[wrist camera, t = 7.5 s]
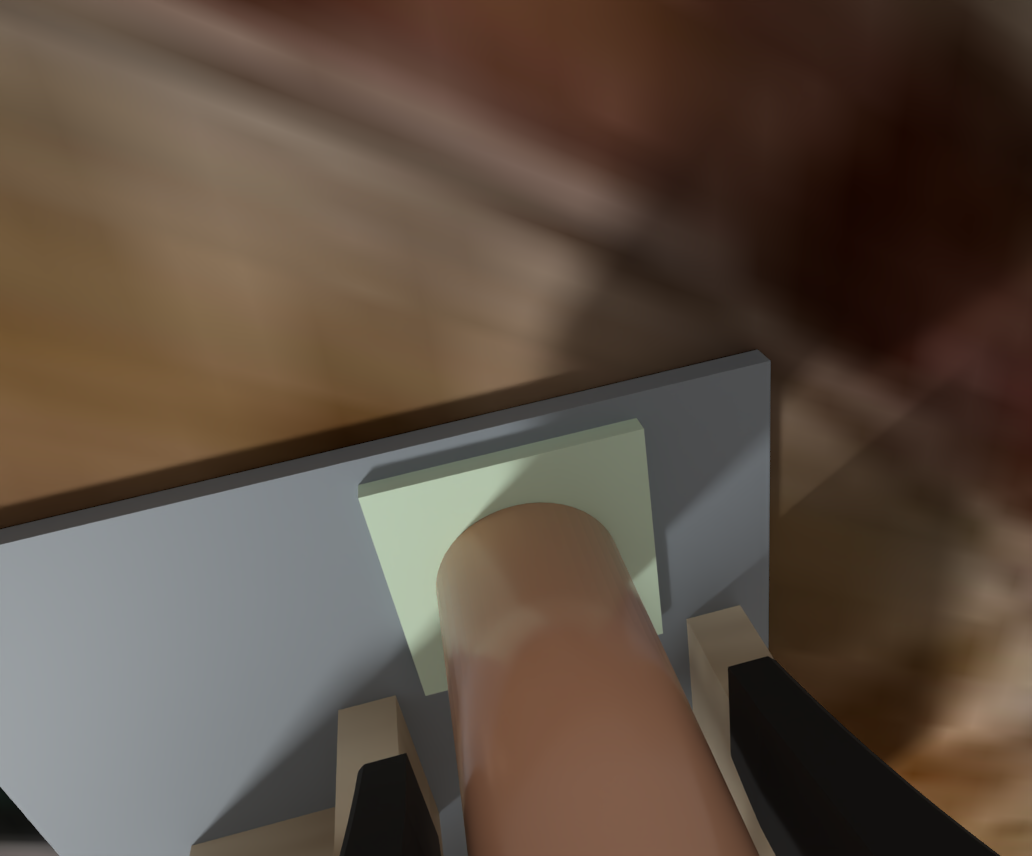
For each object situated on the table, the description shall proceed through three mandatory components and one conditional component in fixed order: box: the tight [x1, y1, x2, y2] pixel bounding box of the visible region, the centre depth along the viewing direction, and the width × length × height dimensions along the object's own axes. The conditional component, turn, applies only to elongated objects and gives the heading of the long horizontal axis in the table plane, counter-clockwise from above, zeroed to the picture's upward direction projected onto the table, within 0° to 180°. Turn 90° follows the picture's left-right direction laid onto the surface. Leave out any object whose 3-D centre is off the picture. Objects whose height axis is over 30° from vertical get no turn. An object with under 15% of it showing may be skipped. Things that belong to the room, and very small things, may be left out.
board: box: [0, 350, 771, 856], centre depth 18 cm, size 18×16×1 cm
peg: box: [436, 502, 759, 856], centre depth 11 cm, size 4×4×8 cm
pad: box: [358, 418, 663, 696], centre depth 14 cm, size 5×5×1 cm
